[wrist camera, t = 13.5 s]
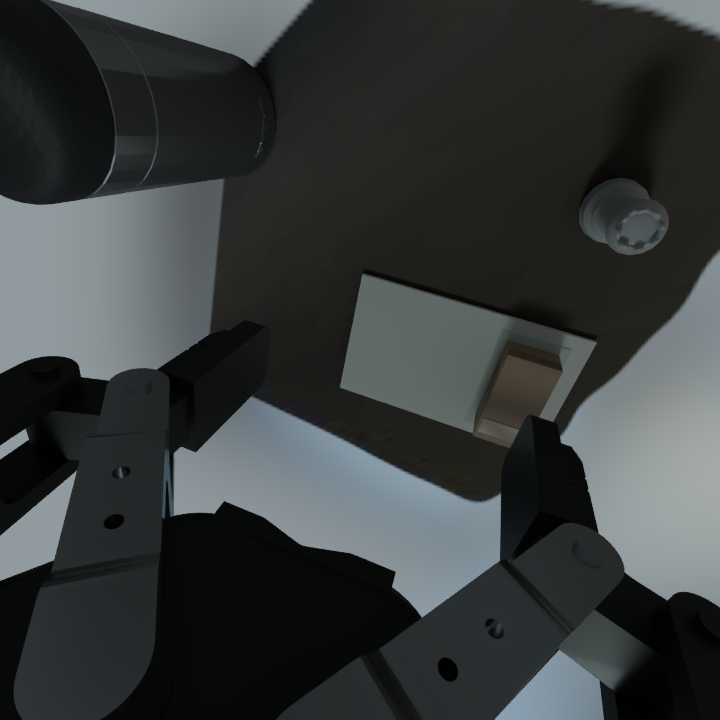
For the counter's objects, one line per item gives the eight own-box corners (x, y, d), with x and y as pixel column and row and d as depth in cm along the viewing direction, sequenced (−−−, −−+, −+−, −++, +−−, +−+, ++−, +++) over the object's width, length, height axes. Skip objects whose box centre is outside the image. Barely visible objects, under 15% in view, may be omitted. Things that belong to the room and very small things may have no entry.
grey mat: (341, 385, 46) (339, 387, 45) (363, 273, 39) (362, 274, 38) (534, 451, 42) (534, 454, 42) (595, 340, 35) (596, 343, 35)
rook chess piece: (655, 177, 29) (699, 189, 22) (637, 242, 31) (672, 270, 25) (584, 177, 30) (607, 188, 24) (572, 239, 32) (588, 266, 26)
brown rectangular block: (508, 339, 37) (508, 355, 35) (559, 355, 36) (563, 372, 34) (474, 417, 42) (472, 435, 39) (519, 432, 41) (520, 452, 38)
